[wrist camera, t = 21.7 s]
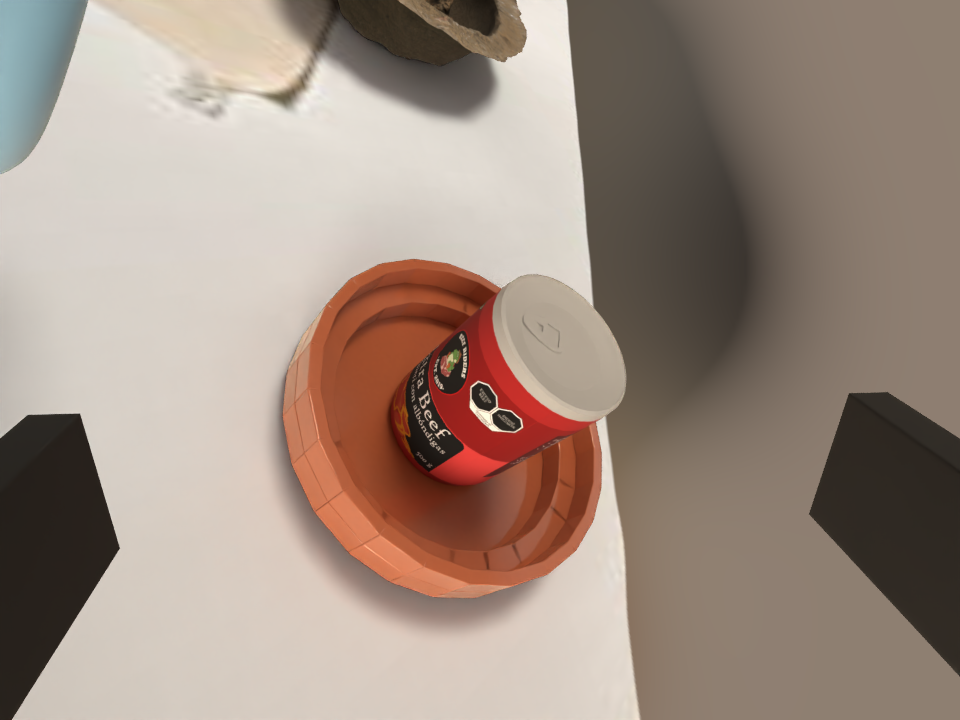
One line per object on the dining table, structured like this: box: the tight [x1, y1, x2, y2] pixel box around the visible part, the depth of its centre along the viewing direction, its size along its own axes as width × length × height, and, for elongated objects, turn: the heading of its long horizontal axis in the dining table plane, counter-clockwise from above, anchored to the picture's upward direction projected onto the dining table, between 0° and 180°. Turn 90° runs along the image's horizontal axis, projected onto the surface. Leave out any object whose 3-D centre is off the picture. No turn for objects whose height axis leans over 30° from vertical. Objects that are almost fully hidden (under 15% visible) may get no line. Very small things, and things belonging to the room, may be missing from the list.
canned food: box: [391, 275, 626, 486], centre depth 32 cm, size 8×8×11 cm
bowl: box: [283, 259, 602, 598], centre depth 34 cm, size 19×19×4 cm
